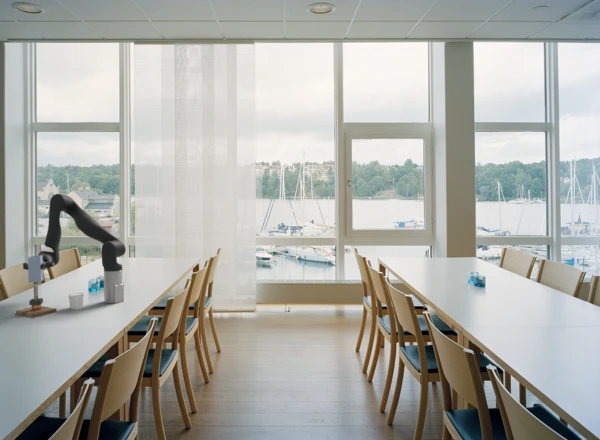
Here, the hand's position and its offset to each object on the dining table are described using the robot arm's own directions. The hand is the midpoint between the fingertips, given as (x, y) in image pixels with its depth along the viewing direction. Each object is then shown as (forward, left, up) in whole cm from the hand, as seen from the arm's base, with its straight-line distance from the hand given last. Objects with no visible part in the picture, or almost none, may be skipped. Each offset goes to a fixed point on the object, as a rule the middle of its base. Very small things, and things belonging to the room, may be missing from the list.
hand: (34, 267), depth 204 cm
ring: (+2, -2, -18) cm, 19 cm away
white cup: (-7, -17, -23) cm, 29 cm away
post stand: (+2, -2, -23) cm, 23 cm away
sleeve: (+2, -2, -7) cm, 7 cm away
